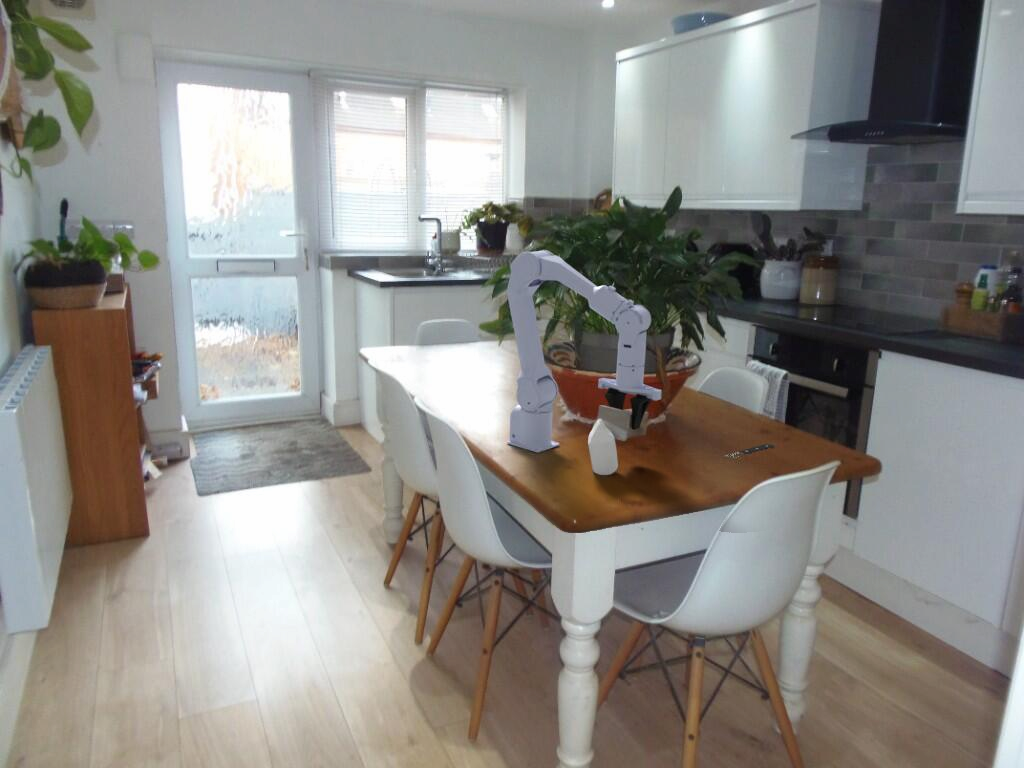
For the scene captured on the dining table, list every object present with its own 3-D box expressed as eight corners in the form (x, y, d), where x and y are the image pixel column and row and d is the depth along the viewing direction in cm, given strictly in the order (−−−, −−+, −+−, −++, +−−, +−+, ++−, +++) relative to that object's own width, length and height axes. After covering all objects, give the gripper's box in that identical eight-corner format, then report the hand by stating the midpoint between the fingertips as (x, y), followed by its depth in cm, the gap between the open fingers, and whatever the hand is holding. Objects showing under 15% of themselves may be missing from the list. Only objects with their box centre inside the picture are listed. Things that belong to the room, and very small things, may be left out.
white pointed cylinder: (580, 415, 153) (607, 408, 153) (589, 462, 159) (615, 455, 159) (586, 430, 148) (614, 423, 148) (595, 478, 154) (622, 471, 154)
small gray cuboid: (624, 429, 166) (628, 402, 165) (651, 436, 161) (655, 409, 161) (595, 433, 157) (599, 405, 157) (623, 440, 153) (627, 412, 152)
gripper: (671, 367, 155) (665, 429, 158) (612, 356, 164) (609, 415, 167) (653, 372, 149) (648, 436, 153) (593, 360, 159) (590, 421, 162)
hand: (626, 426), depth 160 cm, fingers closed on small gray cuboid, 4 cm apart
